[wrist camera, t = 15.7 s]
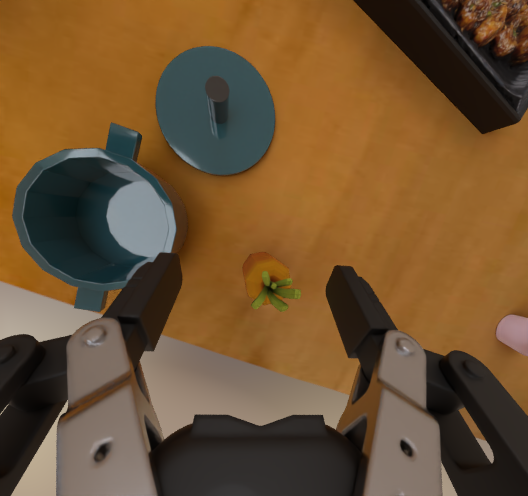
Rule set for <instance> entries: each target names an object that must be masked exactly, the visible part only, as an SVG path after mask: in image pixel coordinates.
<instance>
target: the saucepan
mask: <svg viewBox="0 0 528 496" xmlns="http://www.w3.org/2000/svg"><path fill="white" fill-rule="evenodd" d="M141 140H142V135H141V134H140V133H139V132H137V131H134V130H131V129H128V128H126V127H123V126H120V125H117V124H115V123H111V125H110V130H109V135H108V140H107V145H106V150H103V149H100V148H84V149H64V150H62V151H60V152H58V153H56V154H53V155H51V156H49V157H47V158H45V159H43V160H41V161H38V162H36V163H35V164H34V165H33V167H32V168H31V169H30V171H29V172H28V173H27V174H26V176H25V177H24V178H23V180H22V181H21V182H20V183H19V185H18V186H17V189H16V195H15V201H14V208H13V214H12V216H13V217H12V218H13V221H14V224H15V227H16V230H17V233H18V236H19V239H20V242H21V245H22V247H23V248H24V249H25V250H26V252H27V253H28V254H29V255H30V256H31V257H32V258H33V259H34V261H35V262H36V263H37V264H38V265H39V266H40V267H41V269H42V270H44V271H46V272H47V273H49V274H51V275H53V276H55V277H57V278H58V279H60V280H62V281H64V282H66V283H67V284H69V285H72V286H75V287H78V290H77V295H76V300H75V305H74V308H77V309H83V310H90V311H96V312H100V311H102V310H103V309H104V308H105V305H106V300H107V295H108V291H109V290H116V289H122V288H124V287H126V284H127V283H128V281H129V280H130V279H131V277H132V276H133V274H134V273H135V272H136V270H137V269H138V268H140V267H141V266H142V265H144V264H145V263H147V262H153V261H154V260H155V258H156V257H157V255H158V254H159V253H160V252H166V253H178V252H179V250H180V249H181V247H182V246H183V244H184V241H185V238H186V235H187V229H188V220H187V214H186V209H185V206H184V204H183V202H182V200H181V198H180V197H179V195H178V194H177V192H176V191H175V189H174V188H173V187H172V186H171V185H170V184H168V183H167V182H166V181H165V180H163V179H162V178H161V177H159V176H158V175H157V174H156V173H154V172H152V171H151V170H149V169H147V168H146V167H144V166H142V165H141V164H139V163H137V158H138V153H139V149H140V144H141Z"/></svg>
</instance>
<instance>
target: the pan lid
mask: <svg viewBox="0 0 528 496" xmlns="http://www.w3.org/2000/svg"><path fill="white" fill-rule="evenodd" d="M156 113H157V118H158V122H159V125H160V128H161V131H162V133H163V135H164V137H165V139H166V140H167V142H168V143H169V145H170V146H171V148H172V149H173V150H174V151H175V153H176V154H177V155H178V156H179V157H180V158H181V159H182V160H184V161H185V162H186V163H188V164H189V165H190V166H192V167H194V168H196V169H197V170H200V171H202V172H205V173H208V174H212V175H234V174H237V173H241V172H243V171H245V170H247V169H249V168H250V167H252V166H253V165H255V164H256V163H257V162H258V161H259V160H260V159H261V158H262V157H263V155H264V154H265V152H266V151H267V149H268V147H269V145H270V143H271V140H272V137H273V133H274V128H275V110H274V104H273V100H272V97H271V94H270V91H269V89H268V87H267V85H266V83H265V81H264V80H263V78H262V76H261V75H260V74H259V72H258V71H257V70H256V69H255V68H254V67H253V66H252V65H251V64H250V63H249V62H248V61H247V60H245V59H244V58H243V57H241V56H239V55H238V54H236V53H234V52H232V51H229V50H227V49H224V48H220V47H213V46H201V47H196V48H192V49H189V50H187V51H185V52H183V53H181V54H179V55H178V56H177V57H176V58H174V59H173V60H172V61H171V62H170V63H169V64H168V66H167V67H166V69H165V70H164V72H163V73H162V76H161V78H160V80H159V83H158V87H157V92H156Z"/></svg>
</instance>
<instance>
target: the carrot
mask: <svg viewBox="0 0 528 496" xmlns="http://www.w3.org/2000/svg"><path fill="white" fill-rule="evenodd" d="M243 274H244V279H245V285H246V290H247V294H248V296H250V297H251V298H253V299H255V300H254V302H253V303H252V304H251V306H252V307H253V308H254V309H257V308H259V307H260V306H261V305H262V304H263V305H268V304H272V305H273V306H274V307H275V308H277V309H278V310H279V311H281V312H283V311H286V310H287V309H288V305H287V304H286V303H284V302H283V301H282V299H283V298H289V299H300V296H301V290H299V289H290V288H291V284H292V282H293V281H292V279H291V278H290V275H289V269H288V267H286V266H285V265H284V264H282V263H281V262H279V261H278V260H276V259H275V258H273V257H272V256H271V255H269V254H267V253H266V252H259V253H254V254H250V256H249V257H248V258H247V260H246V261H245V263H244V265H243Z"/></svg>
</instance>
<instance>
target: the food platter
mask: <svg viewBox="0 0 528 496" xmlns="http://www.w3.org/2000/svg"><path fill="white" fill-rule="evenodd" d="M354 1H355V2H356V3H357V4H358V5H359V6H360V7H361V8H362V9H363V10H364V11H365V13H366V14H367V15H368V16H369V17H370V18H371V19H372V20H373V21H374V22H375V23H376V24H377V25H378V26H379V27H380V28H381V29H382V30H383V31H384V32H385V33H386V34H387V35H388V36H389V37H390V38H391V40H392V41H393V42H394V43H395V44H396V45H397V46H398V47H399V48H400V49H401V50H402V51H403V52H404V53H405V54H406V55H407V56H408V57H409V58H410V59H411V60H412V61H413V62H414V63H415V64H416V65H417V66H418V68H419V69H420V70H421V71H422V72H423V73H424V74H425V75H426V76H427V77H428V78H429V79H430V80H431V81H432V82H433V83H434V84H435V85H436V86H437V87H438V88H439V89H440V90H441V91H442V92H443V93H444V95H445V96H446V97H447V98H448V99H449V100H450V101H451V102H452V103H453V104H454V105H455V106H456V107H457V108H458V109H459V110H460V111H461V112H462V113H463V114H464V115H465V116H466V117H467V118H468V119H469V120H470V122H471V123H472V124H473V125H474V126H475V127H476V128H477V129H478V130H479V131H480V132H481V133H482V134H484V133H487V132H491V131H494V130H497V129H500V128H503V127H507V126H510V125H513V124H516V123H518V122H519V121H520V120H521V118H522V117H523V115H524V113H525V112H526V110H527V108H528V0H354Z"/></svg>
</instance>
